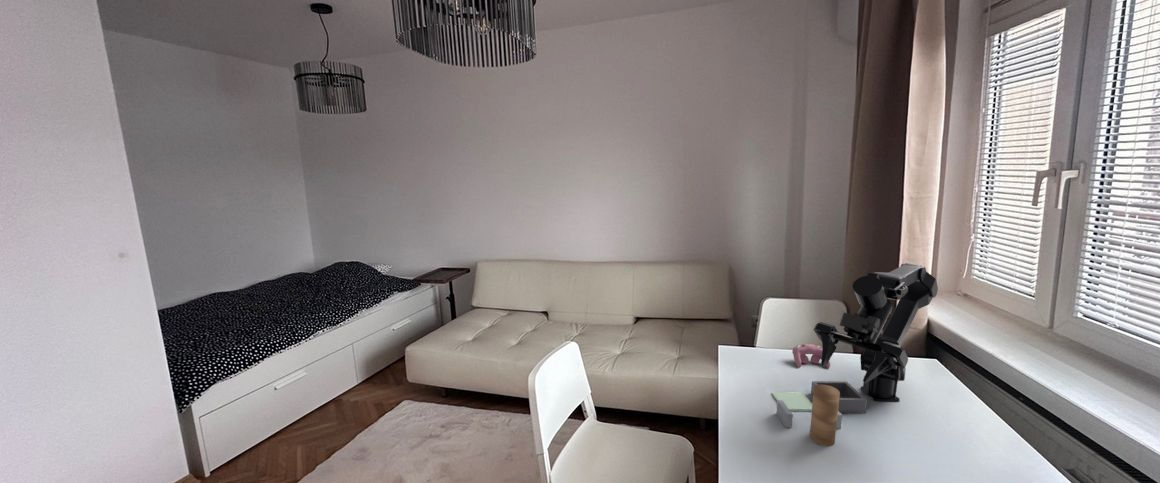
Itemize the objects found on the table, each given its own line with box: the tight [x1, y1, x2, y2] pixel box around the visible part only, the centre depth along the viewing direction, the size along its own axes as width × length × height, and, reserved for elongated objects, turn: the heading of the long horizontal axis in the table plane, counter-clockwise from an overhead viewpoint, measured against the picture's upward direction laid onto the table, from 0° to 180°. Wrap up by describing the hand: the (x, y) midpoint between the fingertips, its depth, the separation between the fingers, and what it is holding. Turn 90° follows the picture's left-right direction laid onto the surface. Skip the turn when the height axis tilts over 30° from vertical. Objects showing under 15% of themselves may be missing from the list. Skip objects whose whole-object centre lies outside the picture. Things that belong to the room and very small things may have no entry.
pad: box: [771, 391, 813, 412], centre depth 113 cm, size 8×8×1 cm
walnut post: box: [809, 384, 840, 447], centre depth 97 cm, size 5×5×12 cm
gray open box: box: [810, 380, 868, 414], centre depth 112 cm, size 9×9×4 cm
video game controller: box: [791, 343, 831, 369], centre depth 133 cm, size 10×5×7 cm, turn 85°
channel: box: [776, 400, 843, 430], centre depth 105 cm, size 12×6×4 cm, turn 87°
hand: (842, 374), depth 100 cm, fingers open, 9 cm apart
